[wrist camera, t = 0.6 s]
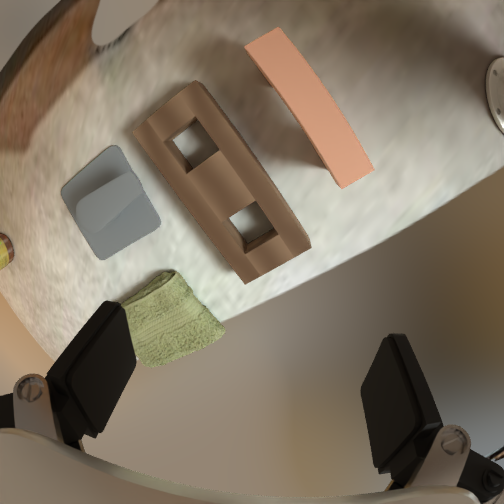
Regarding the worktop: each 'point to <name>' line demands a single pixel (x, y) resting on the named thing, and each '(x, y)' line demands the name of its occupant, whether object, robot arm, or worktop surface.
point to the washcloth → (169, 321)
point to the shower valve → (110, 204)
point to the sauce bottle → (5, 251)
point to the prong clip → (310, 106)
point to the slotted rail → (222, 183)
